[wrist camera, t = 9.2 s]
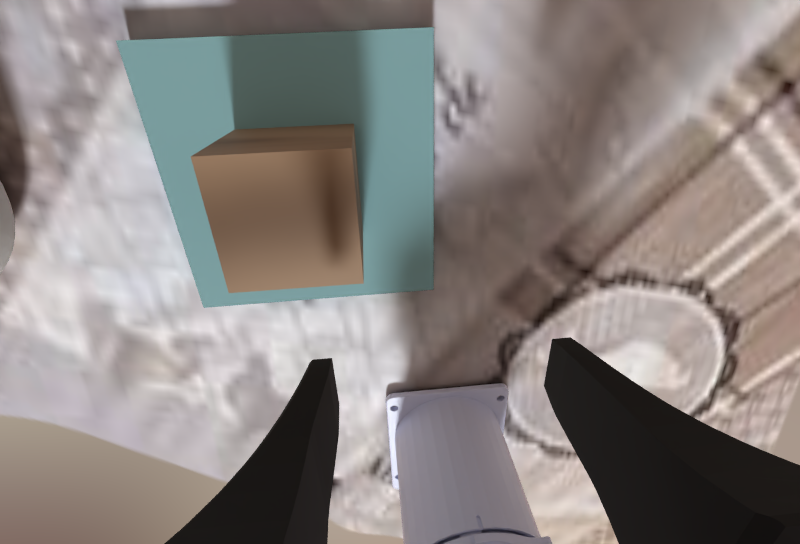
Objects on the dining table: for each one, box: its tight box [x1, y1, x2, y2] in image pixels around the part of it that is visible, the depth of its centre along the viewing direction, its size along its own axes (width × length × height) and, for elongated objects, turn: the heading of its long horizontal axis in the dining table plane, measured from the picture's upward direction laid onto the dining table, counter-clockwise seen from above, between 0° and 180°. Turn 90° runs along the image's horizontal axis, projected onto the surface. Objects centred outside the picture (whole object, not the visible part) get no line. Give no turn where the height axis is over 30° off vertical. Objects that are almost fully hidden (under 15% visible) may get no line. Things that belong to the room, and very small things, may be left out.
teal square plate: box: [116, 27, 434, 308], centre depth 19 cm, size 12×12×1 cm
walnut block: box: [191, 124, 364, 293], centre depth 16 cm, size 5×5×5 cm
